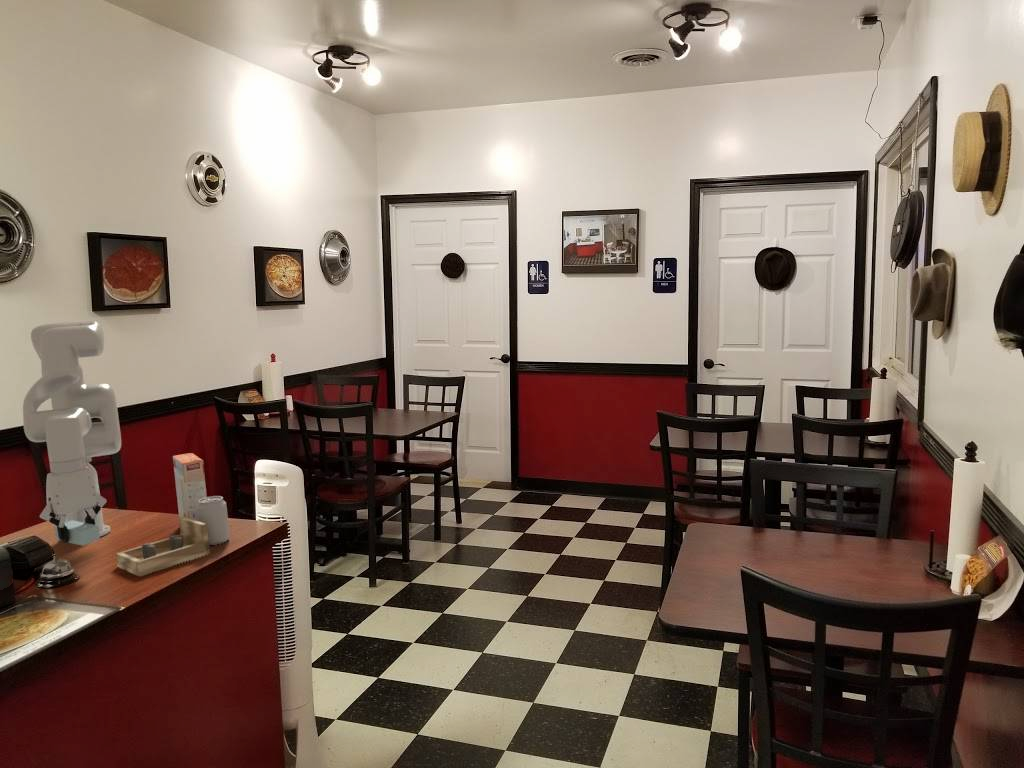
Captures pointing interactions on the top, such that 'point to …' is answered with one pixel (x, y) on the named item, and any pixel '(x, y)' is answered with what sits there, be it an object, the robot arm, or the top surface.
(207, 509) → the can
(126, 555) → the wooden drawer
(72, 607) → the top surface
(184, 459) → the cracker box
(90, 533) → the block
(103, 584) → the top surface
